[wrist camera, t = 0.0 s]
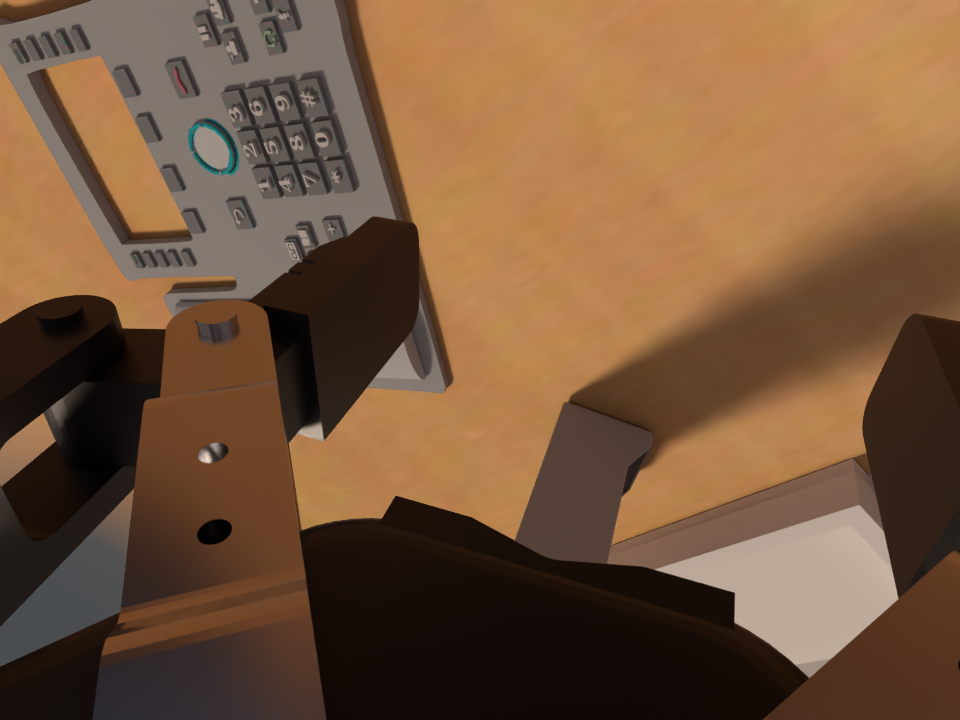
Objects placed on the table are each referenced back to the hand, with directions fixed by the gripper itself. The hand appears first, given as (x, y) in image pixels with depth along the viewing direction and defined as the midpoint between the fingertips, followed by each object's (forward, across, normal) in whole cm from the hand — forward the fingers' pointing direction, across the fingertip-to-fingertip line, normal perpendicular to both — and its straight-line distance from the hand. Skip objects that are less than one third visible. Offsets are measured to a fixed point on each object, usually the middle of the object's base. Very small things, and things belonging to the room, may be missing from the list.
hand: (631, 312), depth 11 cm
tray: (+19, -11, +26) cm, 34 cm away
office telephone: (+19, +22, +8) cm, 30 cm away
